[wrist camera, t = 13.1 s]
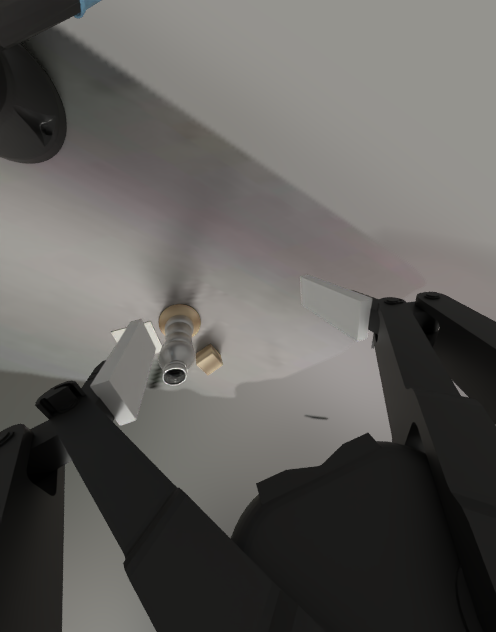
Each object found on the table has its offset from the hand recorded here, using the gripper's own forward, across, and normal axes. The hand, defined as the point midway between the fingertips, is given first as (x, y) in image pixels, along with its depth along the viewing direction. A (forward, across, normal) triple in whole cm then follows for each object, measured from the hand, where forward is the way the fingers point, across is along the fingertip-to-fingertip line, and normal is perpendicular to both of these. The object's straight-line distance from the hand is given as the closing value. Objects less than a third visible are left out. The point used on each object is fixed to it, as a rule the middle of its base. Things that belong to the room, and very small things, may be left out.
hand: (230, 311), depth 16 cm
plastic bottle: (+32, -10, -14) cm, 37 cm away
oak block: (+33, -6, -26) cm, 42 cm away
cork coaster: (+33, -10, -14) cm, 37 cm away
